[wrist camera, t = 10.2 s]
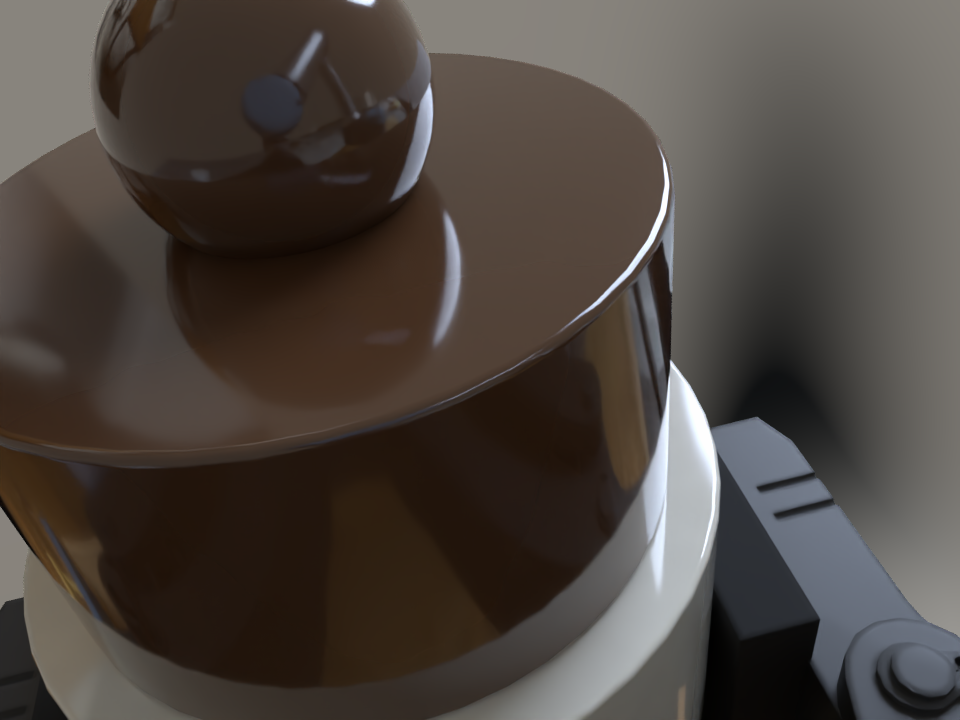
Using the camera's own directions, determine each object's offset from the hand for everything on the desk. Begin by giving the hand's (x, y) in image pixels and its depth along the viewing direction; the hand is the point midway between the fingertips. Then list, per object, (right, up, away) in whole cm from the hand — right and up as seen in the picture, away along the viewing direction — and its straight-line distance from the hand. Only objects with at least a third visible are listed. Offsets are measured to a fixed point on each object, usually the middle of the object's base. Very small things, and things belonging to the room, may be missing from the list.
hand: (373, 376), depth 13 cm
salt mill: (+2, -12, +3) cm, 12 cm away
